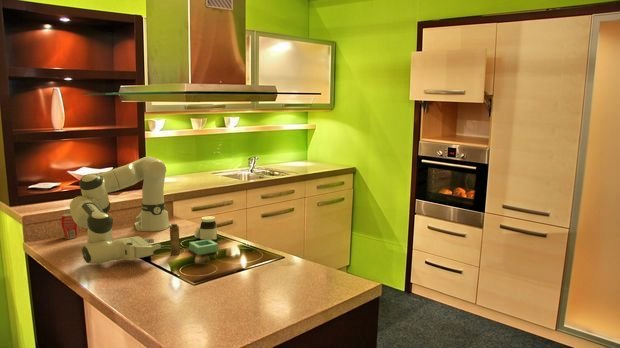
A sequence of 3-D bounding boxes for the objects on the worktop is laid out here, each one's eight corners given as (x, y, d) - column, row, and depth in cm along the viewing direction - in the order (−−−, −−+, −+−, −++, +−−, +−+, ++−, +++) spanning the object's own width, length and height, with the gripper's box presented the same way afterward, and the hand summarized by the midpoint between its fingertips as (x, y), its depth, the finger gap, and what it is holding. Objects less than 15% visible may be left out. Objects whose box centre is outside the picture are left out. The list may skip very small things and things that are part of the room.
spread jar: (214, 243, 241) (213, 220, 239) (191, 243, 241) (190, 220, 240) (219, 236, 253) (218, 214, 251) (197, 236, 253) (196, 214, 252)
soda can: (70, 235, 254) (68, 212, 252) (81, 236, 251) (79, 213, 249) (59, 238, 247) (57, 215, 245) (70, 240, 245) (68, 216, 243)
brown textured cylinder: (169, 253, 224) (168, 224, 222) (177, 252, 227) (176, 222, 225) (172, 256, 221) (171, 226, 219) (181, 254, 223) (180, 224, 221)
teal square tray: (189, 249, 231) (189, 242, 230) (209, 246, 237) (209, 239, 236) (198, 255, 223) (197, 247, 222) (218, 251, 229) (218, 244, 228)
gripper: (118, 249, 218) (149, 244, 227) (132, 261, 202) (165, 255, 210) (117, 235, 218) (149, 231, 226) (131, 246, 201) (164, 241, 209)
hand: (156, 243), depth 218 cm, fingers open, 8 cm apart
